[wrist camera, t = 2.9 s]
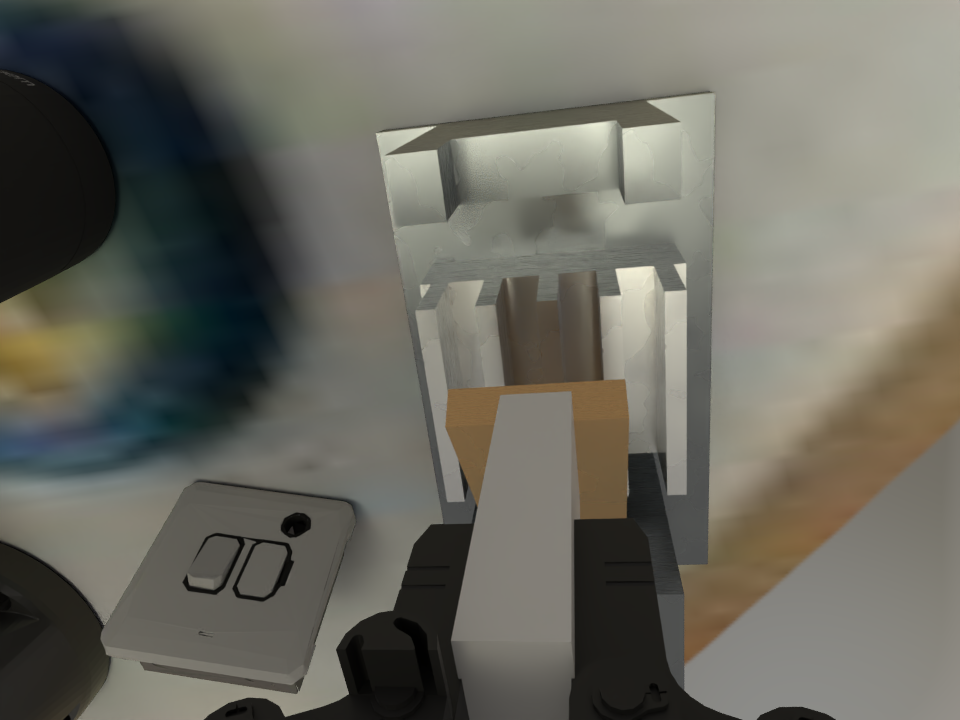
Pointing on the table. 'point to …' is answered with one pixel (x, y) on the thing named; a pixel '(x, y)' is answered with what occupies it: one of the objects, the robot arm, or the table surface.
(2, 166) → the pen holder
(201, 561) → the electrical switch
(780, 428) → the table surface
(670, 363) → the base
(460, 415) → the strap
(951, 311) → the table surface
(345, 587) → the table surface
